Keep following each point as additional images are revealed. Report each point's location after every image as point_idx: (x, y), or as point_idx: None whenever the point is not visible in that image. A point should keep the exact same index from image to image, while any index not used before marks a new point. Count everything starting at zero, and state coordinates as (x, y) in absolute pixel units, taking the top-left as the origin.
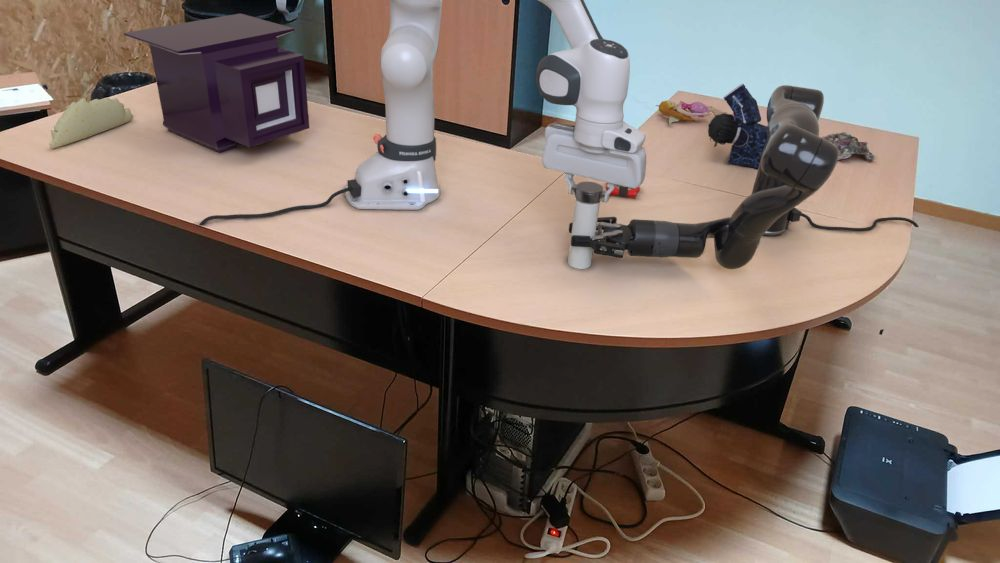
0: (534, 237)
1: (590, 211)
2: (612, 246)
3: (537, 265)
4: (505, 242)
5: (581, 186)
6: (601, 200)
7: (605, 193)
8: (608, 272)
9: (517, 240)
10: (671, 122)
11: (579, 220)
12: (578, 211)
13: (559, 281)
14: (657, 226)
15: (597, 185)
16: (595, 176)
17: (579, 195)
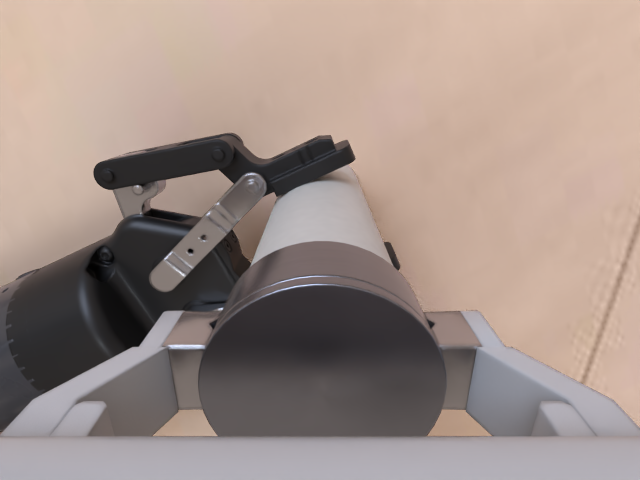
0: (502, 272)
1: (275, 238)
2: (145, 152)
3: (446, 102)
4: (590, 195)
5: (394, 369)
6: (203, 312)
7: (152, 354)
8: (217, 184)
9: (552, 227)
10: None
11: (336, 203)
12: (354, 226)
13: (340, 33)
14: (4, 359)
15: None
16: (210, 473)
17: (375, 269)
